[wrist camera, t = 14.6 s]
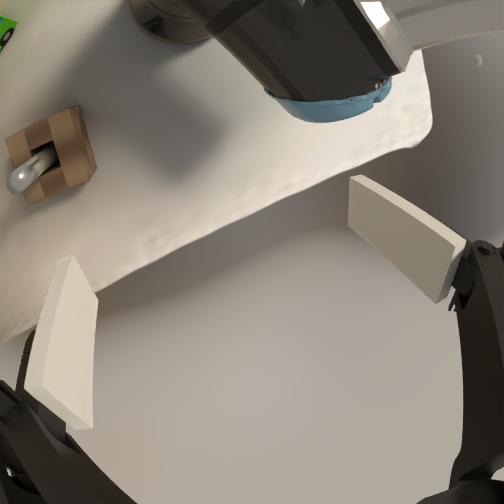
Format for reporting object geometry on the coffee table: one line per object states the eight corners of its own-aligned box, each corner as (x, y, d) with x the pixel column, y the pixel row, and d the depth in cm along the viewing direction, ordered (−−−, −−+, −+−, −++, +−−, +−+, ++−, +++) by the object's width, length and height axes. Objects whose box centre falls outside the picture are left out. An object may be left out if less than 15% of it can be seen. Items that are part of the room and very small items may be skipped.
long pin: (49, 144, 32) (3, 176, 19) (63, 138, 32) (21, 166, 20) (54, 159, 33) (11, 197, 21) (67, 153, 34) (29, 189, 21)
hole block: (22, 131, 29) (5, 139, 24) (79, 104, 31) (68, 107, 26) (41, 190, 35) (28, 205, 30) (96, 168, 37) (89, 180, 32)
